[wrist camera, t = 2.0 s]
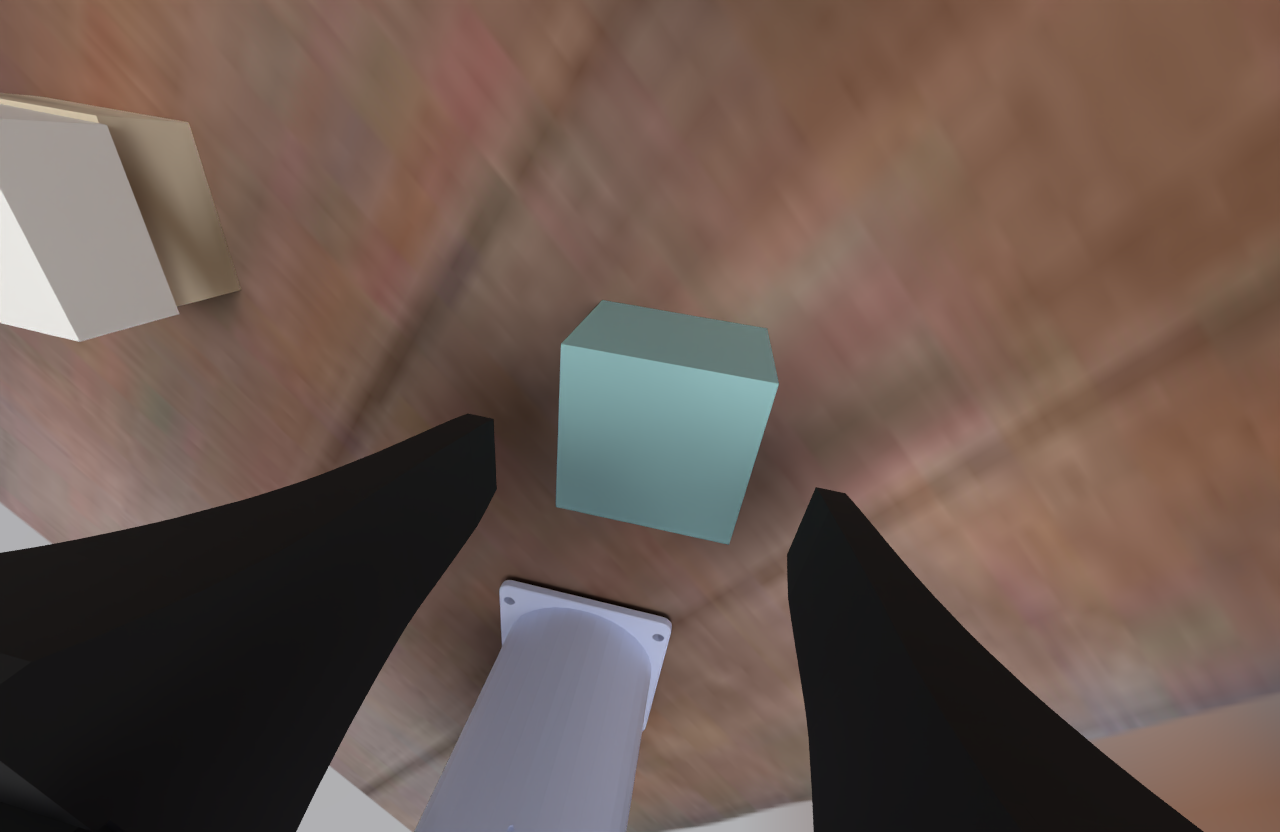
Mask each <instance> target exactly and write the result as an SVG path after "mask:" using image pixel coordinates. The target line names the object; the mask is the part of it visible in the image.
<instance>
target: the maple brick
mask: <svg viewBox="0 0 1280 832" xmlns="http://www.w3.org/2000/svg"><path fill="white" fill-rule="evenodd" d="M0 104H4V105H9V106H14V107H19V108H24V109H29V110H34V111H39V112H44V113H50V114H55V115H60V116H65V117H70V118H75V119H80V120H85V121H90V122H95V123H100V124H105V125H107V127H108V129H109V132H110V134H111V137H112V140H113V142H114V145H115V147H116V150H117V153H118V155H119V158H120V160H121V163H122V166H123V168H124V171H125V173H126V176H127V179H128V181H129V184H130V186H131V189H132V192H133V194H134V197H135V199H136V202H137V205H138V207H139V210H140V212H141V215H142V218H143V220H144V223H145V225H146V228H147V231H148V233H149V236H150V238H151V241H152V244H153V246H154V249H155V251H156V254H157V257H158V259H159V262H160V265H161V267H162V270H163V272H164V275H165V278H166V280H167V283H168V285H169V288H170V291H171V293H172V296H173V298H174V301H175V304H176V306H177V307H178V306H182V305H186V304H190V303H193V302H197V301H201V300H205V299H209V298H213V297H216V296H220V295H224V294H228V293H232V292H235V291H239V290H241V288H240V285H239V282H238V278H237V275H236V272H235V269H234V266H233V262H232V259H231V256H230V253H229V250H228V246H227V243H226V240H225V237H224V234H223V230H222V227H221V224H220V221H219V218H218V214H217V211H216V208H215V205H214V202H213V199H212V195H211V192H210V189H209V186H208V183H207V179H206V176H205V173H204V170H203V167H202V163H201V160H200V157H199V154H198V151H197V147H196V144H195V141H194V138H193V135H192V131H191V128H190V125H189V122H184V121H178V120H173V119H167V118H161V117H155V116H150V115H144V114H138V113H132V112H127V111H121V110H115V109H110V108H104V107H98V106H92V105H87V104H81V103H75V102H69V101H64V100H58V99H52V98H46V97H39V96H29V95H18V94H7V93H0Z"/></svg>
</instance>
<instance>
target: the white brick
mask: <svg viewBox="0 0 1280 832" xmlns="http://www.w3.org/2000/svg"><path fill="white" fill-rule="evenodd" d="M178 314H179V311H178V309H177V306H176V304H175V301H174V298H173V296H172V293H171V291H170V288H169V285H168V283H167V280H166V278H165V275H164V272H163V270H162V267H161V265H160V262H159V259H158V257H157V254H156V251H155V249H154V246H153V244H152V241H151V238H150V236H149V233H148V231H147V228H146V225H145V223H144V220H143V218H142V215H141V212H140V210H139V207H138V205H137V202H136V199H135V197H134V194H133V192H132V189H131V186H130V184H129V181H128V179H127V176H126V173H125V171H124V168H123V166H122V163H121V160H120V158H119V155H118V153H117V150H116V147H115V145H114V142H113V140H112V137H111V134H110V132H109V129H108V127H107V125H105V124H100V123H95V122H90V121H85V120H80V119H75V118H70V117H65V116H60V115H55V114H50V113H44V112H39V111H34V110H29V109H24V108H19V107H14V106H9V105H4V104H0V323H3V324H7V325H11V326H15V327H20V328H24V329H28V330H32V331H37V332H41V333H45V334H49V335H54V336H58V337H62V338H66V339H70V340H75V341H79V342H81V341H84V340H88V339H91V338H95V337H99V336H102V335H106V334H109V333H113V332H116V331H120V330H124V329H127V328H131V327H134V326H138V325H142V324H145V323H149V322H152V321H156V320H160V319H163V318H167V317H170V316H174V315H178Z"/></svg>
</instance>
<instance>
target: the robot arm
mask: <svg viewBox="0 0 1280 832" xmlns="http://www.w3.org/2000/svg"><path fill="white" fill-rule="evenodd" d="M496 489H497V485H496V464H495V443H494V421H493V419H491V418H486V417H482V416H477V415H472V414H466V415H463V416H460V417H458V418H455V419H453V420H450V421H448V422H445V423H443V424H441V425H439V426H436V427H434V428H432V429H429V430H427V431H425V432H423V433H420V434H418V435H416V436H414V437H411V438H409V439H407V440H405V441H402V442H400V443H398V444H395V445H393V446H391V447H389V448H386V449H384V450H382V451H379V452H377V453H375V454H372V455H369V456H367V457H364V458H362V459H359V460H357V461H354V462H352V463H349V464H347V465H344V466H342V467H339V468H337V469H334V470H332V471H329V472H327V473H324V474H321V475H319V476H316V477H313V478H310V479H307V480H305V481H302V482H299V483H296V484H293V485H290V486H287V487H284V488H280V489H277V490H274V491H271V492H268V493H265V494H262V495H259V496H255V497H252V498H248V499H245V500H241V501H238V502H234V503H230V504H226V505H223V506H219V507H215V508H211V509H208V510H204V511H200V512H196V513H193V514H189V515H185V516H181V517H178V518H174V519H170V520H165V521H161V522H157V523H152V524H148V525H143V526H139V527H135V528H130V529H126V530H121V531H116V532H111V533H106V534H102V535H97V536H92V537H87V538H82V539H77V540H72V541H67V542H61V543H56V544H51V545H45V546H40V547H34V548H28V549H22V550H15V551H9V552H3V553H0V832H296V831H297V829H298V827H299V825H300V822H301V820H302V818H303V816H304V814H305V812H306V810H307V808H308V806H309V804H310V802H311V800H312V798H313V796H314V794H315V792H316V789H317V788H318V786H319V784H320V782H321V780H322V778H323V776H324V774H325V772H326V770H327V768H328V766H329V765H330V763H331V761H332V759H333V757H334V755H335V753H336V751H337V749H338V747H339V745H340V743H341V741H342V740H343V738H344V736H345V734H346V732H347V730H348V728H349V726H350V724H351V723H352V721H353V719H354V717H355V715H356V713H357V712H358V710H359V708H360V706H361V704H362V703H363V701H364V699H365V697H366V695H367V694H368V692H369V690H370V688H371V686H372V684H373V683H374V681H375V679H376V677H377V675H378V674H379V672H380V670H381V669H382V667H383V665H384V663H385V662H386V660H387V658H388V657H389V655H390V653H391V651H392V650H393V648H394V646H395V645H396V643H397V641H398V639H399V638H400V636H401V634H402V633H403V631H404V629H405V628H406V626H407V625H408V623H409V622H410V620H411V619H412V617H413V616H414V614H415V613H416V611H417V610H418V608H419V607H420V605H421V604H422V603H423V601H424V600H425V598H426V597H427V596H428V594H429V593H430V591H431V590H432V589H433V587H434V586H435V585H436V583H437V582H438V580H439V579H440V578H441V576H442V575H443V573H444V572H445V571H446V569H447V568H448V566H449V565H450V564H451V562H452V561H453V560H454V558H455V557H456V555H457V554H458V553H459V551H460V550H461V548H462V547H463V545H464V544H465V543H466V541H467V540H468V538H469V537H470V536H471V534H472V533H473V531H474V530H475V528H476V527H477V525H478V523H479V522H480V520H481V518H482V516H483V514H484V513H485V511H486V509H487V507H488V505H489V503H490V501H491V499H492V497H493V495H494V493H495V491H496ZM787 575H788V600H789V607H790V614H791V621H792V627H793V634H794V640H795V647H796V653H797V659H798V666H799V672H800V678H801V684H802V691H803V697H804V703H805V710H806V719H807V727H808V736H809V751H810V767H811V783H812V802H813V825H814V832H1203V831H1202V830H1201V829H1199V828H1198V827H1197V826H1195V825H1194V824H1192V822H1190V821H1189V820H1188V819H1186V818H1185V817H1184V816H1182V815H1181V814H1180V813H1178V812H1177V811H1176V810H1175V809H1173V808H1172V807H1171V806H1169V805H1168V804H1167V803H1165V802H1164V801H1163V800H1162V799H1160V798H1159V797H1158V796H1156V795H1155V794H1154V793H1152V792H1151V791H1150V790H1149V789H1147V788H1146V787H1145V786H1144V785H1142V784H1141V783H1140V782H1139V781H1137V780H1136V779H1135V778H1134V777H1132V776H1131V775H1130V774H1129V773H1127V772H1126V771H1125V770H1123V769H1122V768H1121V767H1120V766H1119V765H1117V764H1116V763H1115V762H1114V761H1112V760H1111V759H1110V758H1108V757H1107V756H1106V755H1105V754H1104V753H1102V752H1101V751H1100V750H1099V749H1098V748H1097V747H1095V746H1094V745H1093V744H1092V743H1091V742H1090V741H1088V740H1087V739H1086V738H1085V737H1084V736H1082V735H1081V734H1080V733H1079V732H1078V731H1076V730H1075V729H1074V728H1073V727H1072V726H1071V725H1069V724H1068V723H1067V722H1066V721H1065V720H1063V719H1062V718H1061V717H1060V716H1059V715H1058V714H1056V713H1055V712H1054V711H1053V710H1052V709H1050V708H1049V707H1048V706H1047V705H1046V704H1045V703H1044V702H1043V701H1041V700H1040V699H1039V698H1038V697H1037V696H1036V695H1035V694H1034V693H1032V692H1031V691H1030V690H1029V689H1028V688H1027V687H1026V686H1025V685H1023V684H1022V683H1021V682H1020V681H1019V680H1018V679H1017V678H1016V677H1015V676H1014V675H1013V674H1012V673H1011V672H1010V671H1009V670H1007V669H1006V668H1005V667H1004V666H1003V665H1002V664H1001V663H1000V662H999V661H998V660H997V659H996V658H995V657H994V656H993V655H991V654H990V653H989V652H988V651H987V650H986V649H985V648H984V647H983V646H982V645H981V644H980V643H979V642H978V641H977V640H976V639H975V638H974V637H973V636H972V635H971V634H970V633H969V632H968V631H967V630H966V629H965V628H964V627H963V626H962V625H961V624H960V623H959V622H958V621H957V620H956V619H955V618H954V617H953V616H952V615H951V613H950V612H949V611H948V610H947V609H946V608H945V607H944V606H943V605H942V604H941V603H940V602H939V601H938V600H937V599H936V598H935V597H934V596H933V594H932V593H931V592H930V591H929V590H928V589H927V588H926V587H925V586H924V585H923V583H922V582H921V581H920V580H919V579H918V578H917V577H916V576H915V574H914V573H913V572H912V571H911V570H910V569H909V568H908V566H907V565H906V564H905V563H904V562H903V561H902V560H901V558H900V557H899V556H898V555H897V554H896V552H895V551H894V550H893V549H892V548H891V547H890V545H889V544H888V543H887V542H886V541H885V539H884V538H883V537H882V536H881V535H880V533H879V532H878V531H877V530H876V529H875V527H874V526H873V525H872V524H871V523H870V521H869V520H868V519H867V518H866V517H865V515H864V514H863V513H862V512H861V511H860V509H859V508H858V507H857V506H856V505H855V504H854V502H853V501H852V500H851V499H850V498H849V497H848V496H847V495H846V494H845V493H841V492H836V491H831V490H827V489H822V488H817V487H816V488H815V491H814V493H813V495H812V498H811V500H810V502H809V505H808V507H807V509H806V512H805V514H804V516H803V519H802V521H801V523H800V526H799V528H798V531H797V533H796V535H795V538H794V540H793V542H792V545H791V547H790V549H789V552H788V554H787ZM499 594H500V616H501V638H502V648H501V650H500V652H499V654H498V657H497V659H496V661H495V663H494V665H493V667H492V669H491V671H490V673H489V676H488V678H487V680H486V682H485V684H484V686H483V688H482V690H481V692H480V694H479V697H478V699H477V701H476V703H475V705H474V707H473V709H472V711H471V713H470V715H469V718H468V720H467V722H466V724H465V726H464V728H463V730H462V732H461V734H460V737H459V739H458V741H457V743H456V745H455V747H454V749H453V751H452V753H451V755H450V758H449V760H448V762H447V764H446V766H445V768H444V770H443V772H442V774H441V776H440V779H439V781H438V783H437V785H436V787H435V789H434V791H433V793H432V795H431V798H430V800H429V802H428V804H427V806H426V808H425V810H424V812H423V814H422V816H421V819H420V821H419V823H418V825H417V827H416V829H415V831H414V832H626V830H627V823H628V817H629V811H630V804H631V798H632V792H633V786H634V779H635V773H636V767H637V760H638V754H639V748H640V741H641V735H642V731H644V730H645V728H646V724H647V720H648V716H649V713H650V709H651V705H652V702H653V698H654V694H655V690H656V687H657V683H658V679H659V676H660V672H661V668H662V664H663V661H664V657H665V653H666V649H667V646H668V642H669V638H670V635H671V629H672V624H671V622H670V621H669V620H668V619H667V618H665V617H662V616H658V615H653V614H649V613H645V612H641V611H637V610H633V609H629V608H625V607H621V606H616V605H612V604H608V603H604V602H600V601H596V600H592V599H588V598H584V597H579V596H575V595H571V594H567V593H563V592H559V591H555V590H551V589H547V588H543V587H538V586H534V585H530V584H526V583H522V582H518V581H514V580H506V581H504V582H503V583H502V585H501V587H500V590H499Z"/></svg>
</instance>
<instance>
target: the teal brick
mask: <svg viewBox="0 0 1280 832" xmlns="http://www.w3.org/2000/svg"><path fill="white" fill-rule="evenodd" d="M778 385H779V382H778V378H777V373H776V368H775V363H774V359H773V354H772V349H771V345H770V340H769V335H768V331H767V328H761V327H755V326H749V325H744V324H738V323H732V322H726V321H721V320H715V319H709V318H703V317H697V316H692V315H686V314H680V313H674V312H669V311H663V310H657V309H651V308H645V307H640V306H634V305H628V304H622V303H617V302H611V301H605V300H602V301H601V302H600V303H599V304H598V305H597V306H596V307H595V308H594V309H593V311H592V312H591V313H590V314H589V315H588V316H587V317H586V318H585V319H584V320H583V321H582V322H581V323H580V324H579V325H578V326H577V327H576V329H575V330H574V331H573V332H572V333H571V334H570V335H569V336H568V337H567V338H566V339H565V340H564V341H563V342H562V343H561V361H560V391H559V421H558V451H557V481H556V507H559V508H564V509H568V510H573V511H577V512H582V513H586V514H591V515H596V516H600V517H605V518H609V519H614V520H618V521H623V522H628V523H632V524H637V525H641V526H646V527H650V528H655V529H660V530H664V531H669V532H673V533H678V534H682V535H687V536H692V537H696V538H701V539H705V540H710V541H714V542H719V543H724V544H728V545H729V543H730V540H731V537H732V533H733V530H734V527H735V524H736V521H737V517H738V514H739V511H740V508H741V504H742V501H743V498H744V495H745V491H746V488H747V485H748V482H749V479H750V475H751V472H752V469H753V466H754V462H755V459H756V456H757V453H758V449H759V446H760V443H761V440H762V437H763V433H764V430H765V427H766V424H767V420H768V417H769V414H770V411H771V407H772V404H773V401H774V398H775V395H776V391H777V388H778Z"/></svg>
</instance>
